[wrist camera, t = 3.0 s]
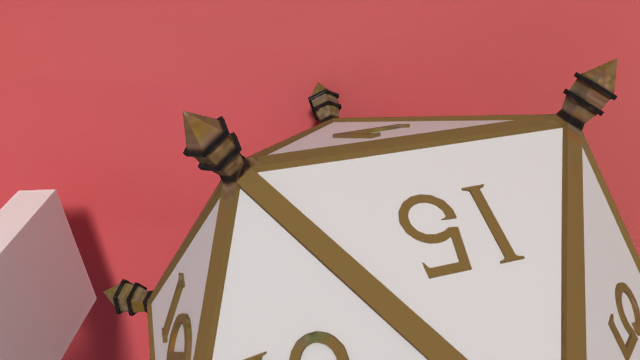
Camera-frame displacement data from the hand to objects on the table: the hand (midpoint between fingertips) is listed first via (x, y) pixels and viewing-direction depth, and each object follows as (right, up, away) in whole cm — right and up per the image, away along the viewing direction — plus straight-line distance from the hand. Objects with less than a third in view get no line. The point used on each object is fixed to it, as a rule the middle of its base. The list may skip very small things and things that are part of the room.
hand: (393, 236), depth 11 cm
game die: (0, +1, +1) cm, 1 cm away
